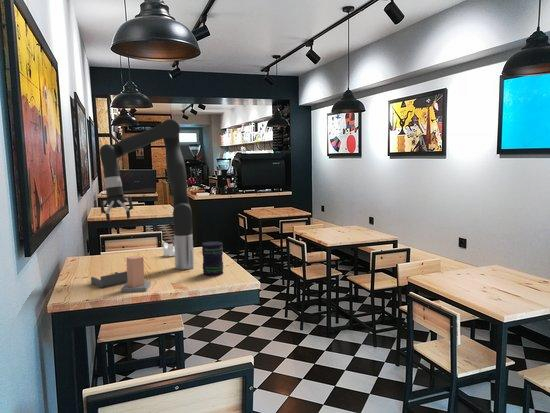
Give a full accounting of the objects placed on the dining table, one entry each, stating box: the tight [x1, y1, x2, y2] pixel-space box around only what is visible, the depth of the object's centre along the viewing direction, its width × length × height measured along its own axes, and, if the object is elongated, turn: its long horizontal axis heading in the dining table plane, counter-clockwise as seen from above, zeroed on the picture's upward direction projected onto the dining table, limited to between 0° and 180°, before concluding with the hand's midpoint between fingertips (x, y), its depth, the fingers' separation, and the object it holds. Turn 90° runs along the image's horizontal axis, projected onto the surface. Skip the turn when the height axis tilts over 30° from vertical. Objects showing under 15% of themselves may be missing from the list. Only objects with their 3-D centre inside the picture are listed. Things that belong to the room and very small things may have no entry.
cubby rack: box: [90, 270, 128, 289], centre depth 183 cm, size 11×12×5 cm
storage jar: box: [201, 240, 224, 277], centre depth 196 cm, size 10×10×15 cm
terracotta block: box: [125, 255, 145, 287], centre depth 174 cm, size 5×5×12 cm
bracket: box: [162, 242, 175, 257], centre depth 242 cm, size 13×7×8 cm, turn 132°
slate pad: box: [120, 280, 151, 293], centre depth 174 cm, size 10×10×2 cm
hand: (118, 220), depth 196 cm, fingers open, 8 cm apart
